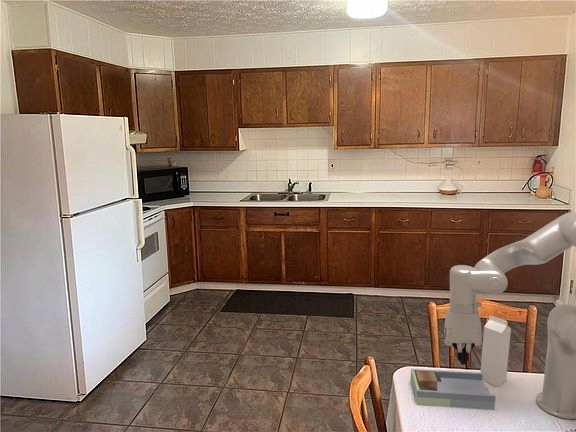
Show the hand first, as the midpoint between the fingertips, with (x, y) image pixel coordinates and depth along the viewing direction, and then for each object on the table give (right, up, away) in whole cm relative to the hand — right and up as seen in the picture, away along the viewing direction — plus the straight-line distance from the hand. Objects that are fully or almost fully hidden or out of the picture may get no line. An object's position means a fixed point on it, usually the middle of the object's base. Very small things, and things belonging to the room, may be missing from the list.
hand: (462, 362), depth 135 cm
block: (-10, -9, +3) cm, 14 cm away
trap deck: (-3, -11, +3) cm, 12 cm away
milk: (+14, -10, +11) cm, 21 cm away
